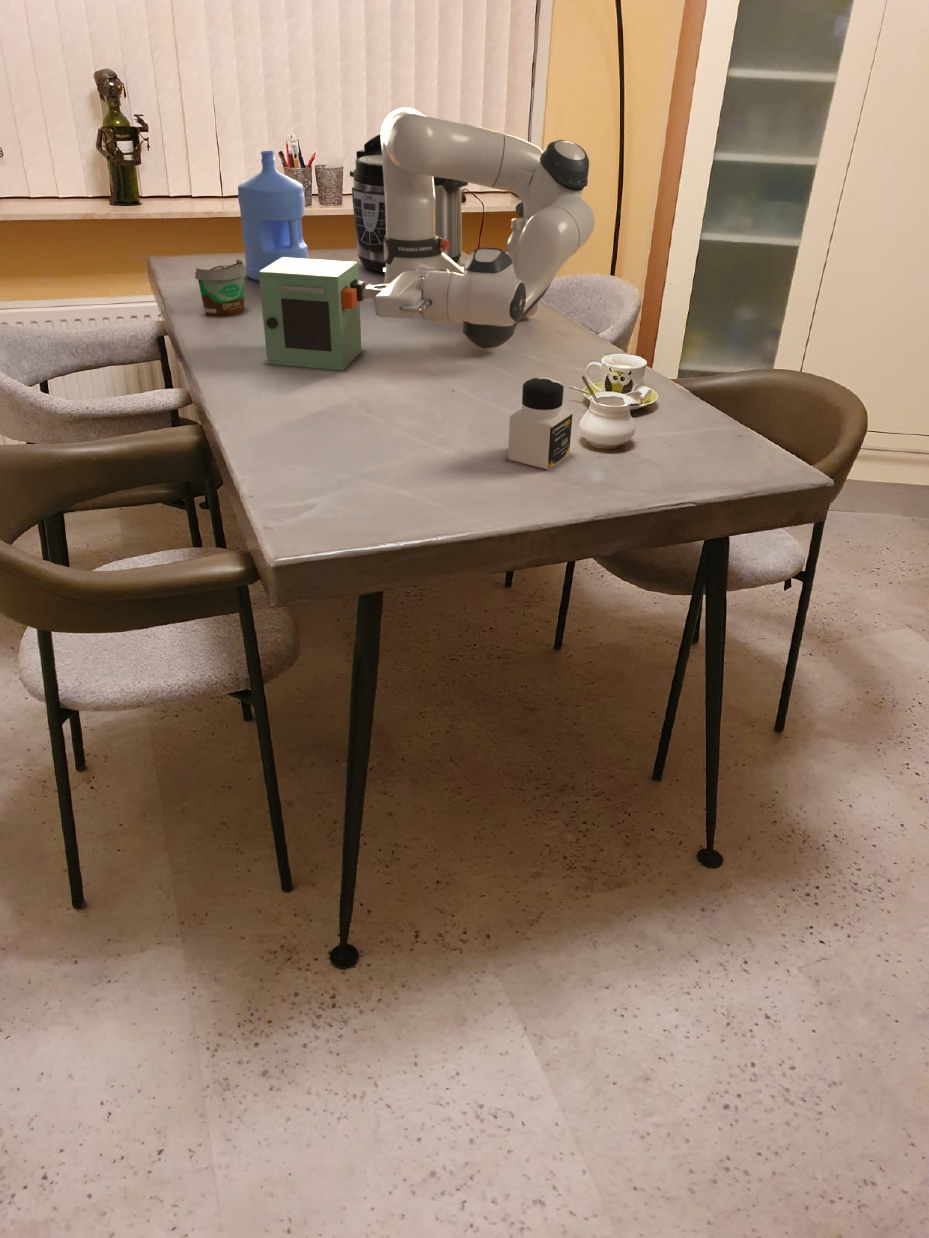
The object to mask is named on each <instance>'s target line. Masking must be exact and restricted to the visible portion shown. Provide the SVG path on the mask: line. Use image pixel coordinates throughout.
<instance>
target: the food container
mask: <svg viewBox="0 0 929 1238" xmlns="http://www.w3.org/2000/svg"><path fill="white" fill-rule="evenodd" d="M235 261H236V262H235V263H233V264H228V265H217V266H214V267H212V268H210V269H202V268H198V267H197V268H195V274H194V279H195V280H197V281H198V286H199V290H200V295H201V299H202V305H203V309H204V314H205V316H208V317H216V318H224V317H234V316H238V315H240V314H243V313H244V312H245V276H247V274H246V273H247V272H246V268H245V265H246V264H244V262H243V261H242V260H241V259H238V258H237V259H236V260H235Z"/></svg>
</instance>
